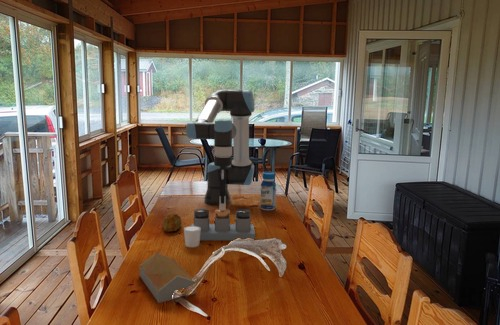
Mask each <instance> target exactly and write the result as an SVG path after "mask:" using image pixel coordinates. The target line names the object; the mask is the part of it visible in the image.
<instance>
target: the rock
mask: <svg viewBox="0 0 500 325" xmlns="http://www.w3.org/2000/svg"><path fill="white" fill-rule="evenodd" d="M182 222H183V221H182V218H181V216H179V214H178V213H173V212H172V213H168V214H167V215H166V216H165V218H164V219H163V222H162V227H163V230H164V232H168V233H170V232H176V231H177V230H179V229H180V228H181V226H182Z"/></svg>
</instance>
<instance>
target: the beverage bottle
mask: <svg viewBox="0 0 500 325" xmlns="http://www.w3.org/2000/svg"><path fill="white" fill-rule="evenodd" d="M275 178H276V172H274V171H264V172H262V179H263V180H262V182H261V184H260V186H261V187H260V207H259V208H260V209H261V210H263V211H274V210H275V209H276V200H277V199H276V195H277V194H276V193H277V188H276V187H277V183H276V182H275Z"/></svg>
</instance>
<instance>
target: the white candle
mask: <svg viewBox="0 0 500 325" xmlns="http://www.w3.org/2000/svg"><path fill="white" fill-rule="evenodd" d="M183 232H184V234H183V235H184V242H185V243H184V244H185V247H188V248H197V247H199V246H200V241H201V240H200V232H201V228H200V227H198V226H191V225H189V226H185V227H184V228H183Z"/></svg>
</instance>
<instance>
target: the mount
mask: <svg viewBox="0 0 500 325" xmlns="http://www.w3.org/2000/svg"><path fill="white" fill-rule="evenodd" d="M251 220H252V218H251V216H250V218H246V219H241V218H237V217H236V216H235V223H234V224H233V223H232V224H231V222H230V221H231V216H230V217H227V218H218V217H215V216H214V223H212V224H211V223H210V216H209V217H208V218H195V217H194V216H193V223H192V224H190V226H198V227H200V228H201V232H200V241H235V240H234V239H237V238H241V239H246V238H252V239H255V240H256V231H255V227H254V226H255V225H254V224H251V222H252V221H251Z"/></svg>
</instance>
